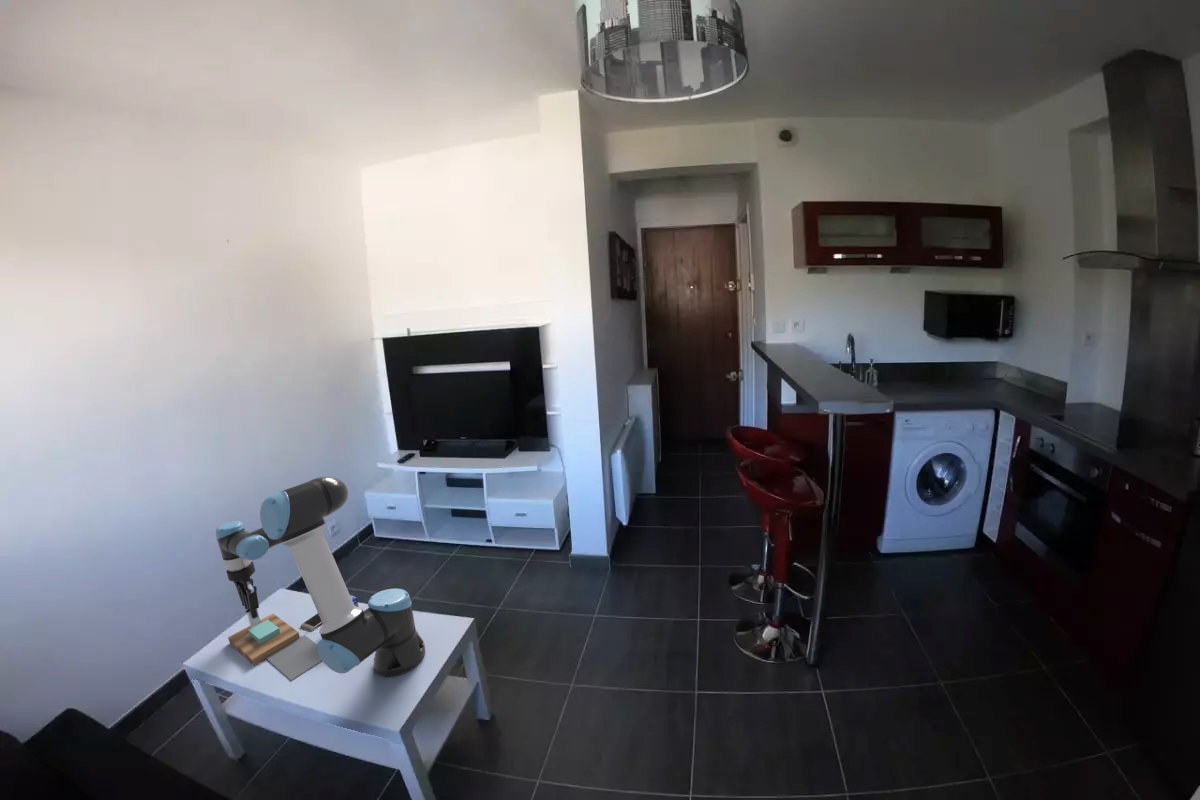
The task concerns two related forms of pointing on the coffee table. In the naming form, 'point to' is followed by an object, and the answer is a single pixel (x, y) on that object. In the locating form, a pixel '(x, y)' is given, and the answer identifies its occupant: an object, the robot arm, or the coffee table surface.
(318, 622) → the cell phone
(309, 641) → the mat
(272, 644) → the wooden board
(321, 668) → the coffee table surface
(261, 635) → the teal rectangular block
